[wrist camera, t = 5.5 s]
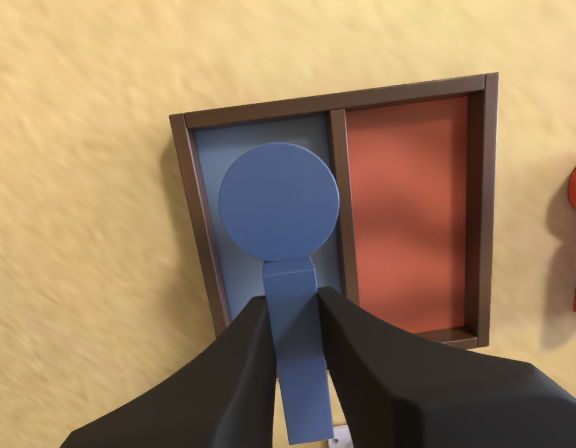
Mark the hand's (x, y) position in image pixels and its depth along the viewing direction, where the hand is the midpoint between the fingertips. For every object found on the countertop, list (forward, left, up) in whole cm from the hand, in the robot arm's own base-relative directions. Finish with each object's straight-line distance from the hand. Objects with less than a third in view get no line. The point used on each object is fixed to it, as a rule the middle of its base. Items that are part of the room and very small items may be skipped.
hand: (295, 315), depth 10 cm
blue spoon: (+1, 0, -2) cm, 2 cm away
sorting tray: (0, -4, -8) cm, 9 cm away
